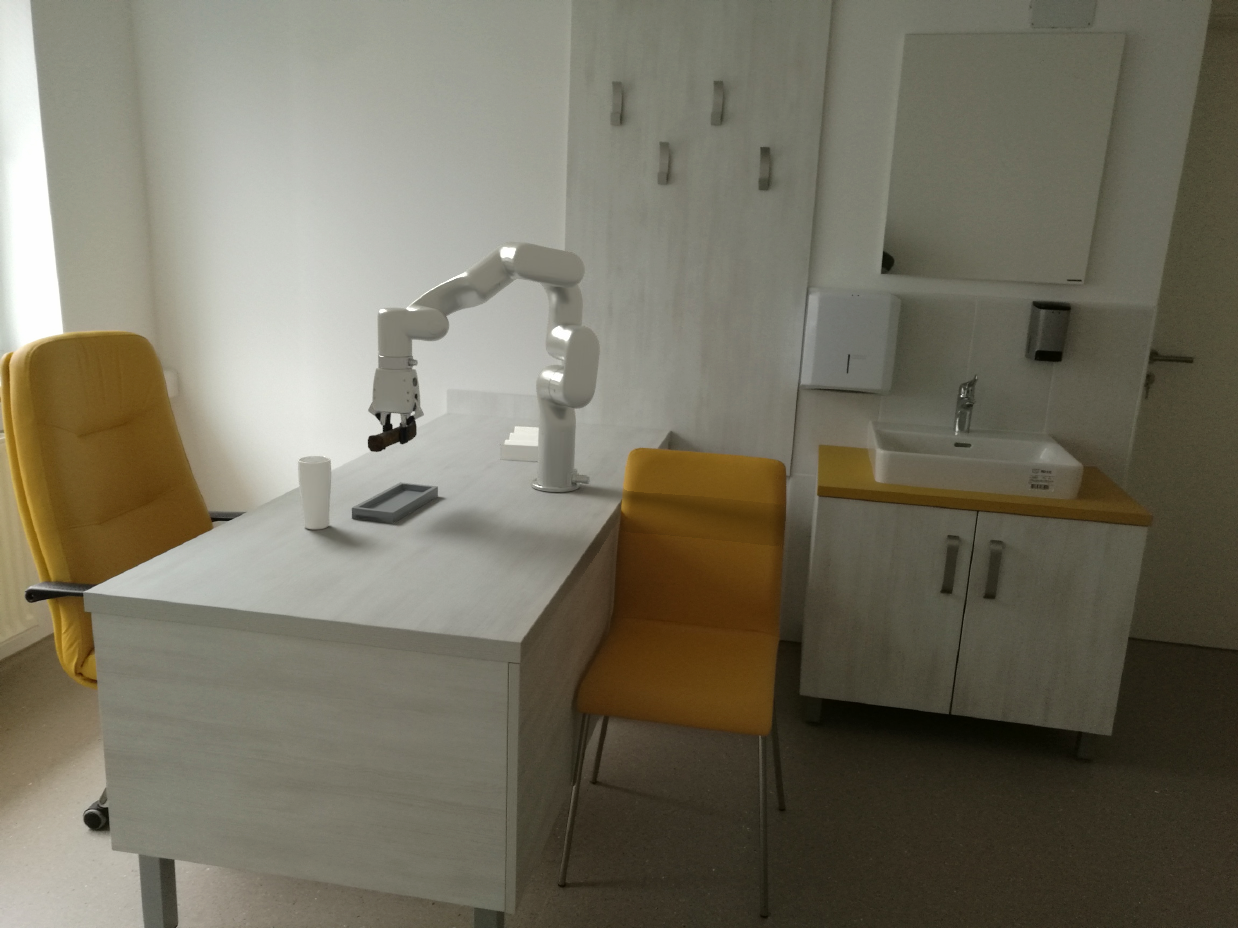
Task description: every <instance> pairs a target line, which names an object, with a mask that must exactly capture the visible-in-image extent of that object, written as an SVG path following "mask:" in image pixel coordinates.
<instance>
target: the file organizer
mask: <svg viewBox="0 0 1238 928" xmlns="http://www.w3.org/2000/svg"><path fill="white" fill-rule="evenodd" d="M538 432H539V426H536V427H535V426H516V425H514V431H513V432H509V438H508V439H505V440H504V443H503V444H499V461H501V460H502V461H520V462H521V461H522V462H537V463H538Z"/></svg>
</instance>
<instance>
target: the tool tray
mask: <svg viewBox="0 0 1238 928" xmlns="http://www.w3.org/2000/svg"><path fill="white" fill-rule="evenodd" d="M437 497H439V486H437V485H436V486H435V485H428V484H418V483H411V482H410V483H409V482H401V481H400V482H399V483H397V484H394V485H393V486H391V487H389V488H387V489H385V490H383V491H381V492H379V493H378V494H376V495H373V496H371V497H370V498H367V499H365V500H364V501H362V502H359V504H357V505H354V506H352V507H351V519H352V518H353V520H361V521H369V522H377V523H387V524H394V523H397V521H399V520H401V519H403V518H405V517H406V516H408V515H409V514H411V513H413V512H415V511H416V510H418V509H419V508H421V507H423V506H424V505H426V504H428V503H429V502H431V501H432V500H433V501H434V499H437Z"/></svg>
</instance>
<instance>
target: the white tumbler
mask: <svg viewBox="0 0 1238 928" xmlns="http://www.w3.org/2000/svg"><path fill="white" fill-rule="evenodd" d="M297 477H298V485H299V494H300V500H301V501H300V502H301V510H302V516H303V517H302V518H303V520H302V521H303V522H302V523H303V526H304V528H305V529H308V530H314V531H315V530H324V529H326V528H328V527H329V526H330V510H331V509H330V508H331V505H330V504H331V492H332V491H331V490H332V461H331V458H330V457H328V456H322V455H311V456H304V457H300V458H298V460H297Z"/></svg>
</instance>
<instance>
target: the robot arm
mask: <svg viewBox="0 0 1238 928" xmlns="http://www.w3.org/2000/svg"><path fill="white" fill-rule="evenodd" d="M585 270H586V267H585V264H584V261H583V260H582V258H581V257H580V256H579V255H578V254H576V253H574V252H572V251H566V250H564V249H556V248H553V247H547V246H544V245H543V246H542V245H537V244H533V243H528V242H521V241H519V242H518V241H508V242H505V243H502V244H500V245H499V246H497V247H495V249H492V250H491V251H490V252H489V253H487V254H486V255H485V256H484V257H482V258H480V260H479V261H477V262H475V263H474V264H473V265H471V266H470V267H468V268H467V269H466V270H465V271H463V272H461V273H460V274H458V275H456V276H454V277H451V278H449V280H446V281H444V282H443V283H440V284H439V285H437V286H434V287H433V288H432V289H429V290H428V291H427V292H424V293H423V294H422V295H421V296H419V297H418V298H417V299H415V300H414V301H413V302H411V303H410V304H409V305H407V307H406V308H403V307H384V308H381V309H379V310H378V312H377V354H378V355H377V363H378V365H377V368H375V372H374V378H373V382H372V402H371V403H370V405H369V408H368V410H367V412H368V413H370V414H371V415H372V416H374V417H375V418H376V419H377V421H379V424H380V425H381V426H382V432H386V431H389V430H391V429H394V427H393V426H394V425H393V423H392V422H391V420H392V414H400V422H401V423H402V427H400V442H399V444H400V445H405V444H407V443H409V441H408V440H409V439H410V425H411V424H412V423H413V422H414V421H416V420H418V419H420V418H422V417H423V416H424V415H425V414H424V411H423V409H422V408H421V394H420V393H421V392H420V383H419V378H418V373H417V370H416V369H414V368H413V367H414V366H415V367H416V366H418V363H419V362H418V360H417V359H414V356H413V341H423V342H436V341H439V340H441V339H444V338H445V336H447V334H448V332H449V330H450V321H449V318H448V316H450V315H451V314H453V313H454V314H455V313H456V312H458V311H461V310H466V309H470V308H474V307H475V308H476V307H478V306H480V305H483V304H485V303H486V302H488V301H489V300H490V299H492V298H493V297H494V296H496V295H498V294H499V292H501V291H503V290H504V289H505V288H506V287H508V286H509V285H510V284H511V283H513V282H514V281H516V280H524V281H528V282H529V281H530V282H533V283H539V284H540V285H541V286H542V288H543V289H544V290H545V293H546V296H547V299H548V317H547V323H546V324H547V325H546V335H545V350H546V352H547V354H548V355H549V356H550V357H552V358H553V359H556V360H559V361H562V362H563V365H562V364H561V365H560V364H551V365H548V366H546V367H544V368H543V369H542V370H541V371H540V372H539V373H538V376H537V377H536V378H537V379H536V382H535V388H536V389H535V391H536V398H537V406H538V427H539V432H538V462H537V477H535V478H533V479H531V482H530V485H531V487H532V489H533V488H534V489H535V490H538V491H541V492H549V493H567V492H572V491H577V490H578V489H579V488H580V485H581V484H585V485H589V484H590V479H591V478H590V476H588V475H587V474H580V473H578V468H575V461H576V460H575V459H576V458H575V455H576V429H577V418H576V411H575V409H582V408H585V407H586V406H588V405H589V404H590V403H591V401H592V400H593V398H594V396H595V393H596V388H597V387H596V386H597V381H598V380H597V379H598V373H599V372H598V369H599V364H600V363H599V362H600V352H601V349H600V340H599V339H598V335H596V333H595V332H594V330H592V329H591V328H589V327H588V326H585V325H583V309H584V308H583V307H584V303H583V301H584V300H583V294H582V292H581V289H580V286H579V284H580V283H581V282H582V281H583V279H584V276H585V273H586V271H585ZM413 412H414V414H412V413H413ZM411 414H412V415H411Z"/></svg>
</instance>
